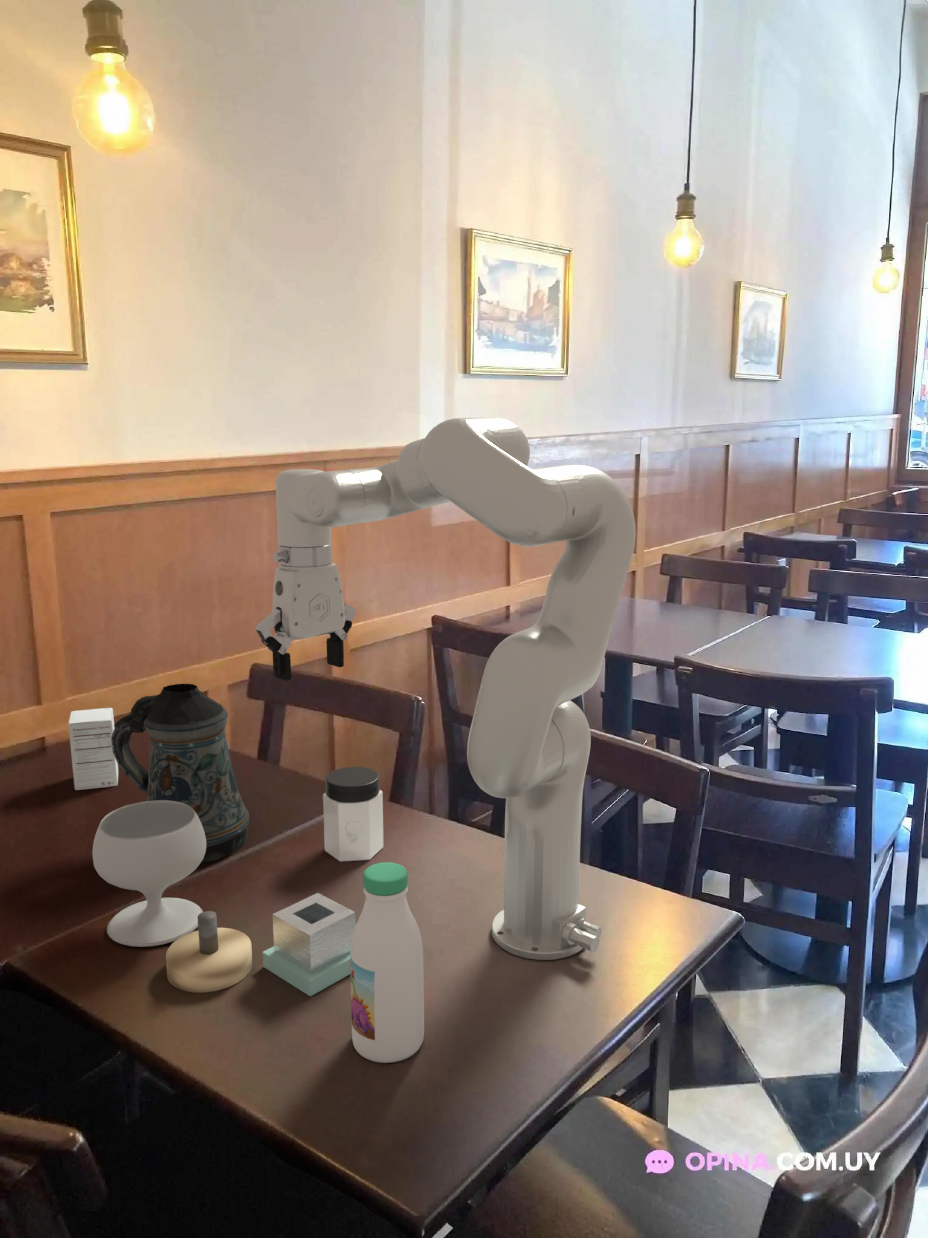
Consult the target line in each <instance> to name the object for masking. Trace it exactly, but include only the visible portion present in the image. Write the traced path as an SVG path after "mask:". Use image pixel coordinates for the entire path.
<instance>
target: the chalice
mask: <svg viewBox="0 0 928 1238" xmlns="http://www.w3.org/2000/svg"><path fill="white" fill-rule="evenodd" d="M96 829H97V830H96V833H95V835H94V838H93V842H92V854H91V855H92V861H93V868H94V869H95V870H96V872H97V874H98V876H100V877H101V878H102V879H103V880H104V881H106V883H108V884H110V885H113V886H114V887H118V888H121V889H125V890H129V891H138V892H140V893H142V895H143V896H144V897H145V899H146V900H143V901H142V900H141V901H140V902H136V903H134V904H131V905H129V906H127V907H125V908H122V909H121V910H120V911H118V912H117V913H116V914H115V915H114V916H113V917H112V918H111V919H110V920H109V922H108V924H107V926H106V934H107V936H108V937H109V938H110V939H111V940H112V941H114V942H115V943H118V944H120V945H123V946H128V947H137V948H145V947H155V946H160V945H161V946H162V945H165V944H169V943H174V942H175V941H176V940H177V939H179V938H181V937H182V936H184V935H186V934H189V933H191V932H194V931H196V930H197V929H198V915H199V914H200V913H202V912H204V910H203V909H202V907H200V906H199V905H198V904H197V903H195V902H193V901H191V900H188V899H184V898H180V897H162V896H163V894H164V892H165V890H166V889H167V888H168V887H170V886H171V885H174V884H176V883H178V882H179V881H182V880H184V879H185V878H186V877H188V876H189V875H191V873H192V874H193V872H194V871H196V870H197V868H198V867H199V866H200V864H202V863H201V862H202V860H203V858H204V855H205V852H206V837H205V833H204V830H203V826H202V824H201V822H200V820H199V817H198V815H197V814H196V812H195V811H194V810H193V809H192V808H191V807H190V806H188V805H186V804H184V803H181V802H176V801H168V800H155V801H147V800H146V801H140V802H135V803H131V804H127V805H124V806H121V807H118V808H117V809H115V810H112V811H111V812H108V813H107V814H106V815H105V816H104V817H103V818H102V820H101V821H100V822H99V825H98V827H97V828H96Z"/></svg>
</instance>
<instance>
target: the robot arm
mask: <svg viewBox="0 0 928 1238" xmlns="http://www.w3.org/2000/svg"><path fill="white" fill-rule="evenodd" d="M530 454H531V450H530V443H529V440H528V438H527V436H526V435H525V433H524V431H523V430H522V429H521V428H520V426H518V425H516V424H515V423H513V422H512V421H510V420H508V419H505V418H501V417H493V416H492V417H486V416H485V417H456V418H451V419H446V420H444V421H442V422H439V423H438V424H437V425H435V426H433V428H432V429H431V430H429V432H428V433H427V435H426V436H425V437H424V438H420V439H417V440H414V441H411V442H409V443H407V444H406V445H405V446H403V448H402V449H401V450H400V452H399V455H398V456H397V460H395V461H393V462H389V463H385V464H381V465H379V466H373V467H365V468H352V469H351V468H350V469H340V470H329V471H324V470H321V469H314V468H313V469H312V468H300V469H299V468H296V469H294V468H293V469H286V470H283V471H280V472H278V474H277V476H276V478H275V494H276V495H275V498H276V500H275V502H276V521H277V522H276V524H277V525H276V526H277V543H278V546H277V548H278V551H277V552H274V553H273V555H272V560H273V562H275V563H278V565H279V566H278V567H276V568H275V573H274V580H273V586H272V587H273V589H272V611H271V612H270V613H269V614H268V615H267V616H266V617H265V618H264V619H262V620H261V621H259V622H258V623H257V624H256V625H255V630H256V633H257V634H258V636H259V638H260V639H261V643H262V644H263V645H264V646H266V647H267V649H268V650H269V651H270V652H272V666H273V667H272V669H273V675H274V677H275V678H277V679H279V680H282V681H286V682H288V681H290V680H291V679H292V664H291V654H290V652H289V653H288V652H287V651H288V650H289V648H290V646H291V644H292V643H293V641H294V640H298V641H299V640H305V639H309V638H314V637H319V636H323V635H328V636H329V637H326V662H327V664H328V665H329V666H332V667H333V666H334V667H337V668H342V667H344V666H345V658H344V657H345V654H344V652H345V651H344V641H346V640H347V638H348V635H347V634H348V633H349V631H350V630H351V628H352V627H353V621H354V618H355V615H356V613H357V609H356V608H355V607H353V606H352V605H349V604H348V603H345V602H344V592H343V586H342V581H341V576H340V572H339V569H338V565H337V564H336V563H335V562H333V552H332V551H333V550H332V548H333V547H332V545H333V544H332V528H337V527H345V526H352V525H356V524H357V525H358V524H363V523H364V524H365V523H372V522H377V521H384V520H389V519H391V518H395V517H398V516H402V515H406V514H410V513H413V512H416V511H420V510H423V509H425V510H426V509H430V508H431V507H434V506H438V505H442V504H446V503H449V502H451V503H452V504H454V505H455V506H457V508H459V509H460V510H461V511H463V512H465V513H466V514H467V515H469V516H470V517H471V518H473V519H474V520H476V521H477V522H479V523H480V524H482V526H484V527H486V528H487V529H488V530H490V531H491V532H492V533H494V534H495V535H497V536H498V537H500V538H501V539H503V540H505V541H506V542H509V543H510V544H513V545H515V546H520V547H525V548H534V547H535V548H536V547H541V546H545V545H550V544H554V543H559V542H564V541H565V545H564V550H563V552H562V554H561V556H560V558H559V559H558V561H557V562H556V564H555V566H554V568H553V571H552V572H551V574H550V577H549V580H548V582H547V587H546V590H545V597H544V600H543V604H542V607H541V611H540V613H539V615H538V618H537V621H536V622H535V623H534V624H533V625H532V626H530V627H528V628H526V629H523V630H520V631H517V632H515V633H513V634H510V635H509V636H507V637H505V638H504V639H503V640H502V641H501V642H499V643H498V645H497V646H496V647H495V648H494V650H493V651H492V652H491V654H490V655H489V658H488V659H487V662H486V664H485V667H484V670H483V675H482V678H481V681H480V685H479V686H480V687H479V691H478V693H477V699H476V703H475V707H474V712H473V716H472V720H471V724H470V729H469V734H468V738H467V748H466V758H467V759H466V760H467V765H468V769H469V772H470V775H471V776H472V779H473V780H474V783H476V785H477V786H478V787H479V789H481V790H482V791H483V792H484V793H485V794H488V795H490V796H491V797H494V798H499V799H505V812H504V814H505V816H504V864H503V865H504V867H503V869H504V870H503V871H504V873H503V874H504V875H503V876H504V877H503V878H504V880H503V883H504V885H503V909H502V910H500V911H499V912H498V913H497V914H496V915H495V916H494V918H493V920H492V923H491V935H492V938H493V940H494V941H495V942H496V944H497V945H498V946H499V947H500V948H502V949H503V950H505V951H506V952H508V953H510V954H512V955H515V956H516V957H517V956H518V957H521V958H524V959H531V960H535V961H536V960H538V961H539V960H540V961H551V960H560V959H563V958H564V959H565V958H568V957H570V956H573V955H575V954H577V953H580V951H582V950H583V949H586V950H587V951H589V952H592V953H594V952H596V951H597V950H598V948H599V945H600V937H601V935H602V927H600V926H599V925H596V924H593V923H590V922H588V921H587V919H586V911H587V910H586V906H584V905H582V904H579V901H580V899H579V896H580V867H581V866H580V864H581V863H580V862H581V836H582V835H581V832H582V831H581V830H582V827H581V826H582V812H583V811H582V810H583V795H584V785H585V778H586V773H587V770H588V769H587V767H588V763H589V759H590V758H589V757H590V752H591V743H592V742H591V741H592V740H591V738H592V737H591V729H590V725H589V721H588V719H587V717H586V715H585V713H584V712H583V710H582V709H581V708H580V707H579V706H578V705H577V704H576V703H575V702H574V701H572V700H573V699H576V698H577V697H580V696H581V695H583V694H584V693H586V692H587V691H589V690H590V689H591V688H593V686H594V685H595V683H596V682H597V681H598V679H599V676H600V673H601V670H602V668H603V663H604V660H605V657H606V652H607V649H608V646H609V642H610V638H611V635H612V630H613V627H614V624H615V619H616V616H617V613H618V612H617V611H618V607H619V603H620V601H621V596H622V594H623V593H622V592H623V590H624V586H625V583H626V580H627V577H628V574H629V571H630V567H631V564H632V559H633V555H634V551H635V547H636V545H635V544H636V534H637V533H636V532H637V531H636V521H635V520H636V519H635V516H634V515H635V514H634V511H633V508H632V506H631V503H630V501H629V499H628V496H627V495H626V493H625V491H624V490H623V488H622V487H621V486H620V485H619V484H618V483H617V481H616V480H614V479H613V477H611V476H610V475H608V474H607V473H605V472H604V471H602V470H599V469H598V468H596V467H592V466H588V465H584V464H583V465H582V464H565V465H563V464H562V465H555V466H548V467H547V466H546V467H538V468H530V467H528V465H529V461H530ZM272 628H273V632H274V636H273V635H272V632H271V629H272Z"/></svg>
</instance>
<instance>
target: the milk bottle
mask: <svg viewBox="0 0 928 1238" xmlns="http://www.w3.org/2000/svg"><path fill="white" fill-rule="evenodd" d="M408 878H409V876H408V871H407V869H406V867H404V866H403V865H401V864H398V863H397V862H388V861H384V862H377V863H374V864H371V865H369V866H368V867H366V869H365V870H364V871H363V874H362V883H363V894H364V896H365V902H364V905H363V908H362V911H361V912H360V915H359V917H358V918H357V919H358V920H357V922H356V926H355V929H354V932H353V936H352V940H351V955H350V974H349V975H350V1010H351V1011H350V1012H351V1017H350V1019H351V1038H352V1039H351V1040H352V1045H353V1047H354V1049H355V1050H356V1052H357V1053H358V1054H359V1055H360V1056H361V1057H363V1058H364V1059H366V1060H369V1061H371V1062H374V1063H381V1064H389V1063H396V1062H401V1061H403V1060H404V1061H405V1060H406V1059H408V1058H410V1057H412V1056H413V1055H414V1054H416V1053H417V1052H418V1051H419V1050H420V1048H421V1046H422V1044H423V1042H424V1039H425V1037H424V1036H425V990H424V989H425V986H424V985H425V984H424V981H425V980H424V975H425V974H424V953H423V952H424V950H423V942H422V934H421V931H420V928H419V925H418V923H417V921H416V918H415V917H414V915H413V912H412V911H411V909H410V906H409V903H408V900H407V896H406V894H407V893H408V890H409V887H408V884H409V881H408V880H409V879H408Z"/></svg>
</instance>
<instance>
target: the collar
mask: <svg viewBox="0 0 928 1238" xmlns="http://www.w3.org/2000/svg"><path fill="white" fill-rule="evenodd" d="M356 924H357V922H356V911H355V910H352V909H350V908H348V907H346V906H344V905H342V904H341V903H338V902H337V901H335V900H333V899H330V898H329V897H327V896H325V895H323V894H322V893H319V892H316V893H315V894H312V895H310V896H308V897H306V898H304V899H301V900H300V901H298V902H295V903H293V904H291V905H290V906H289V905H288V906H287V907H284V908H283V909H281V910H279V911H276V912H274V913H272V933H273V946H274V952H276V953H277V954H279V955H281V956H282V957H284V958H286V959H287V960H289V961H290V962H292V963H294V964H295V965H297V966H299V967H300V968H302V969H304V970H305V971H307V972H309V973H310V974H312V973H314V972H316V971H318V970H319V969H321V968H323V967H325V966H327V965H329V964H330V963H332V962H334V961H336V960H338V959H340V958H341V957H343V956H345V955H347V954H349V953H351V940H352V936H353V932H354V929H355V926H356Z"/></svg>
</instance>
